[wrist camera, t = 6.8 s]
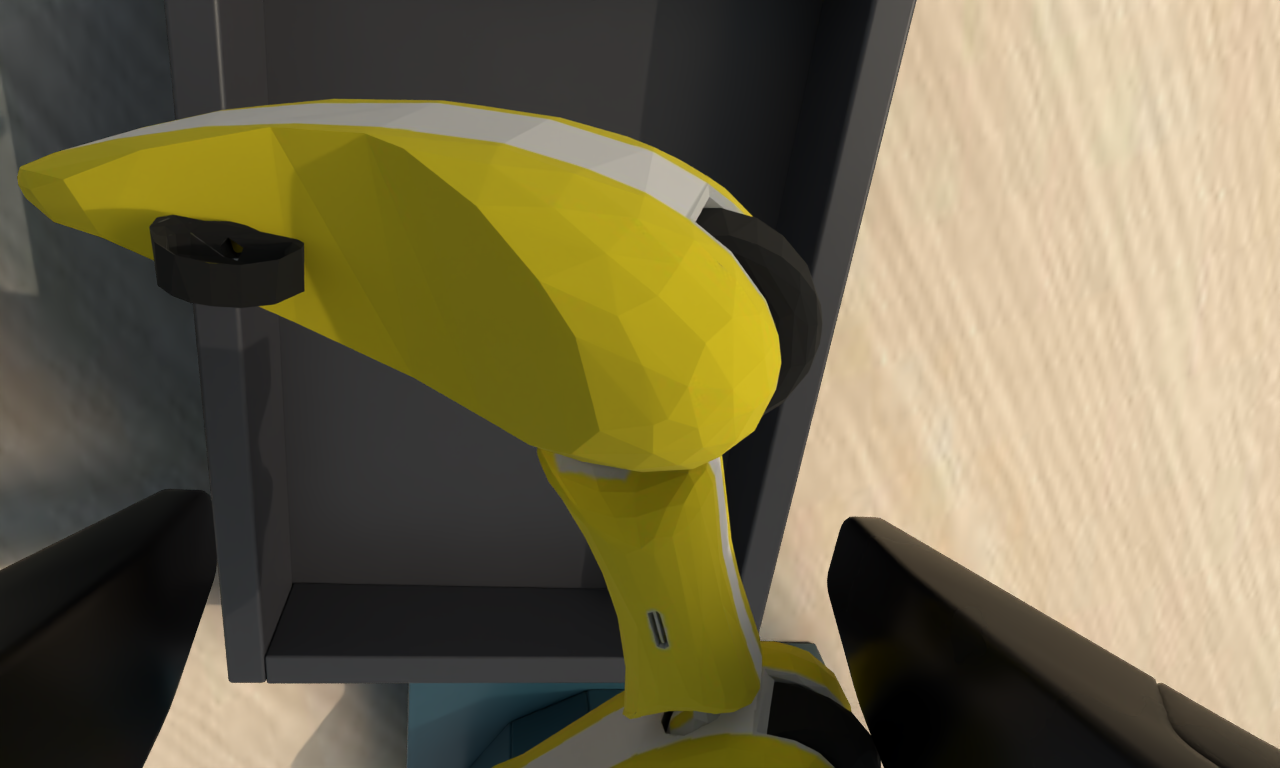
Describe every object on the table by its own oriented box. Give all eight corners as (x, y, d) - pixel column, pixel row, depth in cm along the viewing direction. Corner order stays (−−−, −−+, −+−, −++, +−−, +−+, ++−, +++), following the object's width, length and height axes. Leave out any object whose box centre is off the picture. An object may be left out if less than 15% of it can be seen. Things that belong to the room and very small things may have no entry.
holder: (865, -65, 14) (938, -79, 12) (719, 600, 20) (747, 683, 17) (215, -181, 12) (140, -227, 10) (266, 592, 18) (227, 685, 15)
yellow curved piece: (894, 744, 11) (905, 1035, 8) (490, 723, 13) (383, 952, 10) (798, -38, 7) (749, -7, 4) (218, 103, 9) (-102, 194, 6)
